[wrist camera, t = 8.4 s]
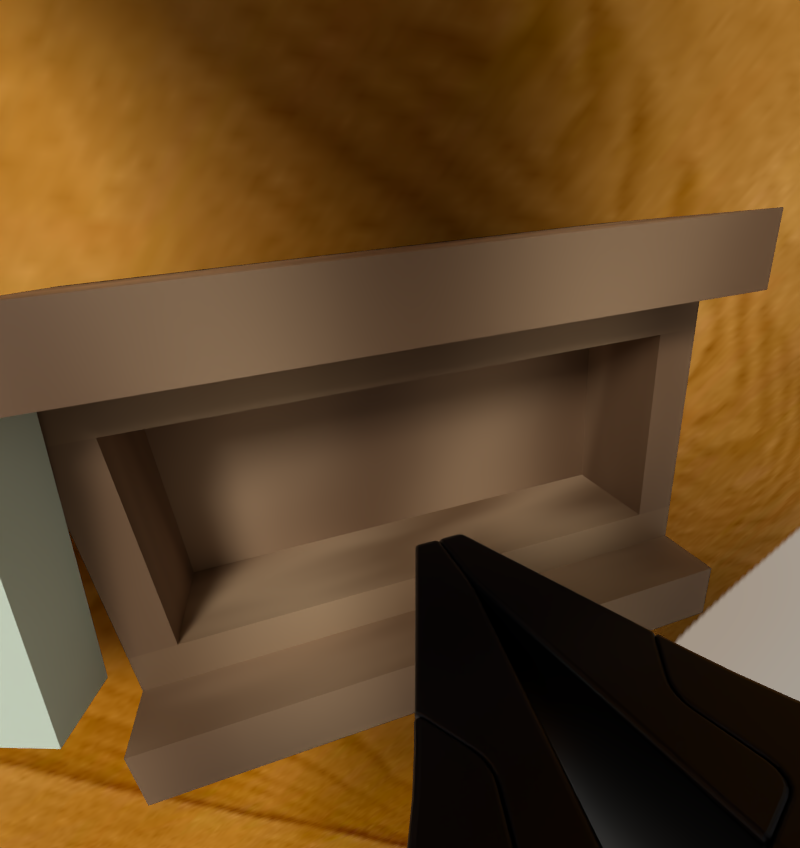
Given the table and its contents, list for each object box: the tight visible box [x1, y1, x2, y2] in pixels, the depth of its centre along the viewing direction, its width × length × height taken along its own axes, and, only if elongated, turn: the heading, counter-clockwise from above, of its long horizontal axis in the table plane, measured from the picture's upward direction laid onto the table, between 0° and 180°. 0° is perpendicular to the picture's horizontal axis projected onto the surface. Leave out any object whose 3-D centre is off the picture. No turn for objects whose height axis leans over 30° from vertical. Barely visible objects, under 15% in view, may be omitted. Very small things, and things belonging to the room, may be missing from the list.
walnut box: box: [0, 207, 783, 805], centre depth 11 cm, size 14×10×5 cm
